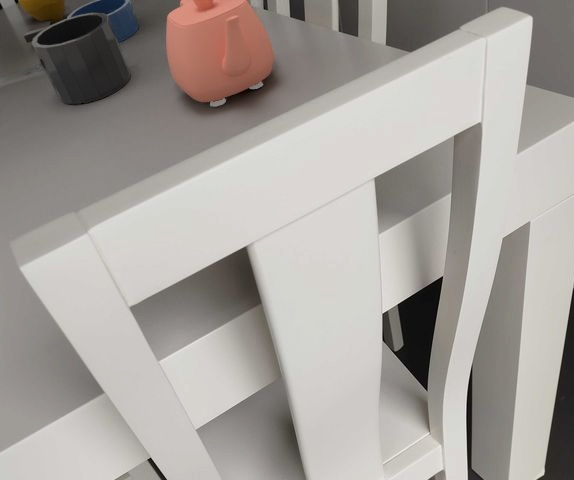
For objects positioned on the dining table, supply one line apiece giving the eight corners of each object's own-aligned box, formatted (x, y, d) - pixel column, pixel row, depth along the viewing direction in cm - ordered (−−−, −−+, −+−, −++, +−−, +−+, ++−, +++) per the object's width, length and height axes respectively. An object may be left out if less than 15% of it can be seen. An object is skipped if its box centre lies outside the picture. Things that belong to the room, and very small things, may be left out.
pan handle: (27, 43, 105) (23, 36, 104) (27, 40, 106) (24, 33, 106) (69, 29, 105) (66, 22, 104) (70, 27, 106) (67, 19, 105)
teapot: (214, 134, 74) (182, 33, 65) (164, 86, 87) (131, -4, 78) (307, 93, 76) (287, -11, 67) (244, 52, 89) (221, -39, 80)
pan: (77, 56, 104) (64, 29, 101) (79, 34, 112) (68, 8, 109) (140, 36, 104) (129, 9, 100) (138, 16, 112) (128, -10, 108)
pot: (57, 112, 89) (28, 55, 83) (62, 82, 97) (35, 28, 91) (131, 90, 89) (107, 30, 82) (130, 61, 97) (108, 5, 90)
